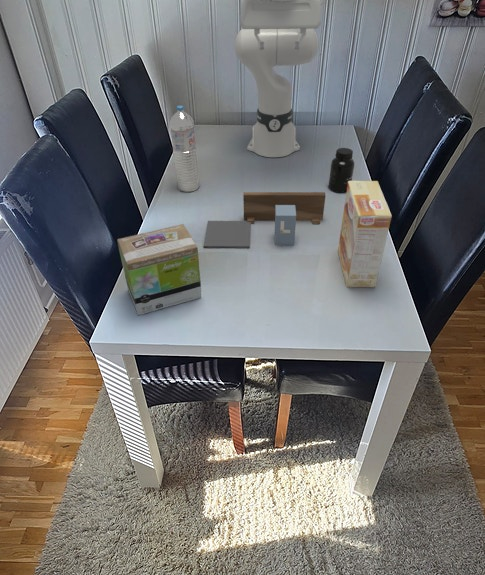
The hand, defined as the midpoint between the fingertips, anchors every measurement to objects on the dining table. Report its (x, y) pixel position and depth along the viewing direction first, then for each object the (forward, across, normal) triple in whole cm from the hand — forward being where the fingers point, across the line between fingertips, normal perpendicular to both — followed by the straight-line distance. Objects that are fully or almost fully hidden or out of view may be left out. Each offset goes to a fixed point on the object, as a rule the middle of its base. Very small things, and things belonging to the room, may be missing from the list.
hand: (279, 49), depth 116 cm
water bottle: (+39, +27, -3) cm, 47 cm away
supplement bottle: (+38, -20, -3) cm, 44 cm away
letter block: (+43, -2, +24) cm, 49 cm away
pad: (+42, +13, +22) cm, 50 cm away
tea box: (+46, +26, +46) cm, 70 cm away
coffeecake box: (+45, -19, +36) cm, 60 cm away
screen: (+41, -2, +15) cm, 44 cm away
